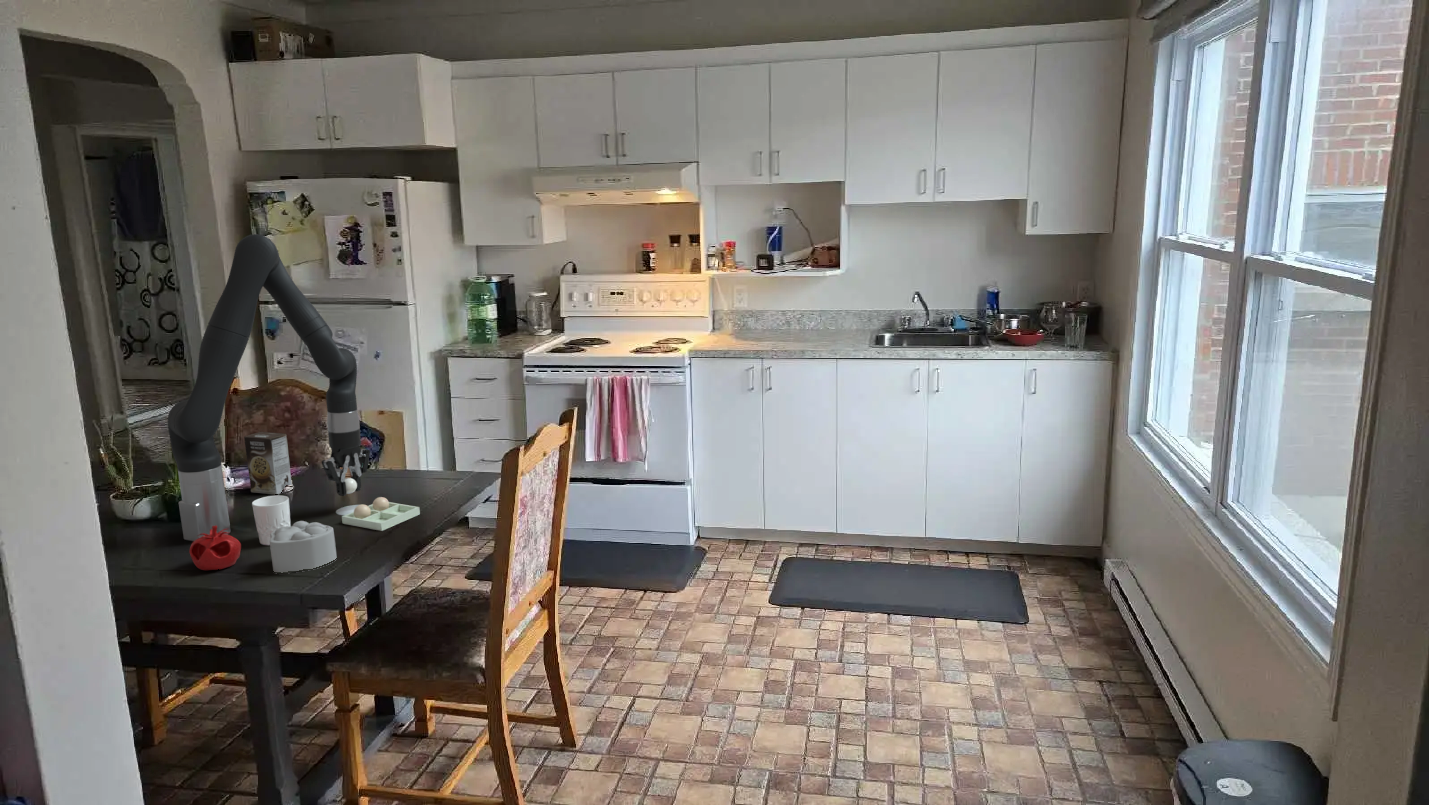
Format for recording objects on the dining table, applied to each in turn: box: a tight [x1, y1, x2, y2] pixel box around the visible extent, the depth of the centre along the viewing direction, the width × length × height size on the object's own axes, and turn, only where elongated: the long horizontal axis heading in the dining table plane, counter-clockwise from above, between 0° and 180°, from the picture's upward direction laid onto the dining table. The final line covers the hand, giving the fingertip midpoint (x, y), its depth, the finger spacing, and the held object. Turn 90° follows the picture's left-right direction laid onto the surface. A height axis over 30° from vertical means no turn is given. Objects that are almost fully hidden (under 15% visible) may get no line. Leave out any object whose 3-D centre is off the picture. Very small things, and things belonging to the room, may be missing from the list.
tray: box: [341, 496, 421, 532], centre depth 232 cm, size 13×13×5 cm
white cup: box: [251, 494, 292, 546], centre depth 220 cm, size 8×8×10 cm
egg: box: [344, 477, 357, 495], centre depth 237 cm, size 4×4×4 cm
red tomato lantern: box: [188, 525, 242, 571], centre depth 205 cm, size 10×10×9 cm
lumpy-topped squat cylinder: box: [269, 520, 337, 573], centre depth 206 cm, size 10×13×9 cm
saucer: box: [335, 504, 359, 516], centre depth 239 cm, size 8×8×1 cm
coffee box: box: [243, 431, 293, 495], centre depth 257 cm, size 9×6×16 cm
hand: (349, 492), depth 237 cm, fingers closed on egg, 4 cm apart
